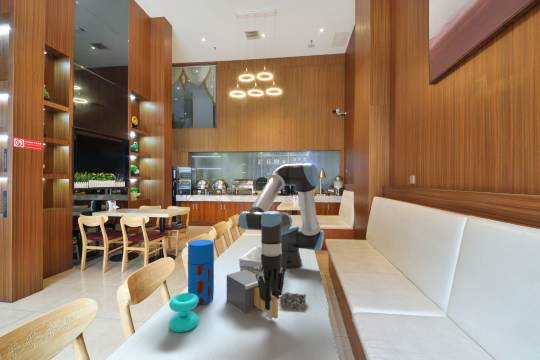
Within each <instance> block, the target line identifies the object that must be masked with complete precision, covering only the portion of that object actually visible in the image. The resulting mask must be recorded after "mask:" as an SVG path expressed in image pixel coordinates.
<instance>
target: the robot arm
mask: <svg viewBox="0 0 540 360" xmlns="http://www.w3.org/2000/svg"><path fill="white" fill-rule="evenodd" d="M319 181H320V180H319V172H318V169H317V166H316V165H315V164H313V163H286V164H282V165H280V166H279V167H277V168H275V169H274V170H273V171H272V172H271V173H269V175H268V177H267V182H266V184H265V185H264V187H263V189H262V190H261V191H260V193H259V195H258V196H257V198H256V199H255V201H254V203H253V204H252V206H251V207H250V209H249V210H248V211H247V210H246V211H242V212H240V214H239V215H238V226H239V227H240V228H241V229H242V230H243V229H244V230H249V231H260V232H261V233H260V234H261V235H260V236H261V237H260V238H261V240H260V241H261V243H260V244H261V246H260V247H261V252H262V254H261V264H262V269H261V273H260V274H259V275H258V274H257V275H256V279H257V280H258V286H259V293H260V299H262V300H263V301H265V309H266V313H265V317H267V318H268V319H270V320H272V319H273V317H272V300H271V295H273V296H275V297H277V298H278V300H280V297H281V296H282V294H283V290H284V289H283V287H284V281H285V274H286V271H287V269H286V268H288V269H291V268H292V269H294V268H299V267H302V265H303V264H302V263H303V260H302V257H301V254H300V249H302V250H303V249H304V250H310V251H311V250H312V251H320V250H321V249H322V248H323V243H324V236H325V231H324V230H322V229H321V227H320V225H319V224H318V219H317V209H316V200H315V192H314V191H315V189H316V188H317V186H318V185H319V183H320V182H319ZM285 186H291V187H292V186H294V187H293V188H294V191H295V192H297V196H298V203H299V211H300V212H299V213H300V217H301V225H302V226H300V227H299V225H295V224H294V225H293V218H292V217H291V215H290V214H289V213H288V212H280V211H276V210H270V208H271V207H272V205H273V203H274V202H275V200H276V198H277V196H278V195H279V193H280V191H281V190H283V188H284V187H285ZM269 210H270V211H269ZM281 249H282V256H281V254H280V253H281ZM280 264H281V265H280ZM263 276H264V277H263ZM264 281H265V282H264Z"/></svg>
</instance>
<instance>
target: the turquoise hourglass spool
mask: <svg viewBox="0 0 540 360" xmlns="http://www.w3.org/2000/svg"><path fill="white" fill-rule="evenodd" d="M198 302H199V299H198V296H197V295H195V294H193V293H188V292H181V293H179V294H176V295H175V296H173V297H172V298H171V299H170V301H169V302H168V303H169V308H170V310H172V311H174V312H176V314H174V315H173V316H172V317H171V319H170V320H169V323H168V326H169V328H170V329H171V331H173V332H176V333H184V332H189V331H190V330H192V329H194V328H195V327H196V326H197V325H198V323H199V320H200V319H199V315H198V314H197V313H196V312H195V311H192V310H194V309H195V308H196V307H197V304H198Z"/></svg>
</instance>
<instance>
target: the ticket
mask: <svg viewBox="0 0 540 360" xmlns="http://www.w3.org/2000/svg"><path fill="white" fill-rule="evenodd" d="M271 300H272V319H275V320H276V319H278V318H279V299H278V298H277V297H275V296H273V295H272V294H271ZM253 305H255V306H256V307H258V308H259V310H260V311H262V312H264V313H265V314H266V309H265V301H263V300H262V299H260V293H259V288H258V287H256V286H255V287H253Z"/></svg>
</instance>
